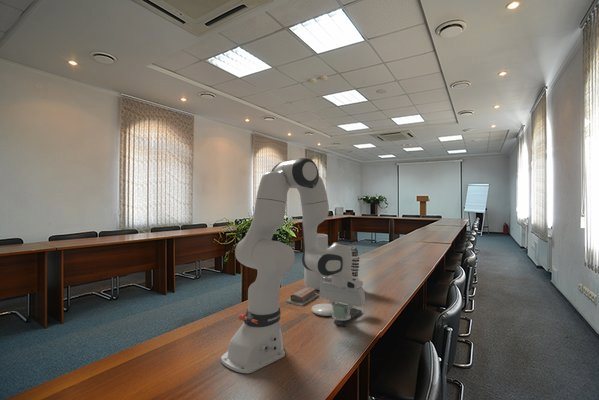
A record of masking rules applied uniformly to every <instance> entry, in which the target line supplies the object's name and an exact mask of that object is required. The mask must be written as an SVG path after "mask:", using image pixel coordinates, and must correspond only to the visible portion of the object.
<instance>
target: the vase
mask: <svg viewBox="0 0 599 400" xmlns="http://www.w3.org/2000/svg"><path fill="white" fill-rule="evenodd" d="M317 241H318V247H319V248H320V250H322V251H324V250H326V249H328V248H329V243H328V242H329V237H328V234H325V233H317ZM303 271H304V274H303V275H304V278H303V279H304V288H305V287H310V288H314V289H315V291H320V287H321V278H323V277H327V278H329V276H324V275H321V274H318V273H316V272H314V271H310V270H308V269H306V268H305V267H304V270H303Z"/></svg>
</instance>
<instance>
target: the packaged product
mask: <svg viewBox="0 0 599 400" xmlns="http://www.w3.org/2000/svg"><path fill="white" fill-rule="evenodd" d="M319 296H320V294H318V293H317V294H316V290H315V289H314V288H310V287H305V286H304V287H303V288H301V289H299V290H297V291H295V292H293V293H291V294H290V297H289V298H287V299H286V300H285V302H286V303H287V304H290V305H296V306H300V307H303V306H305V305H306V304H308V303H309V302H312V301H313V300H314V299H316V298H318V297H319Z"/></svg>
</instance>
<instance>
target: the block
mask: <svg viewBox="0 0 599 400" xmlns="http://www.w3.org/2000/svg"><path fill="white" fill-rule="evenodd" d="M346 309H348V304H345V303H341V302H337V303H335V305H334V316H337V317H340V318H345V317H346V316H347V315H348V314H345V310H346Z"/></svg>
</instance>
